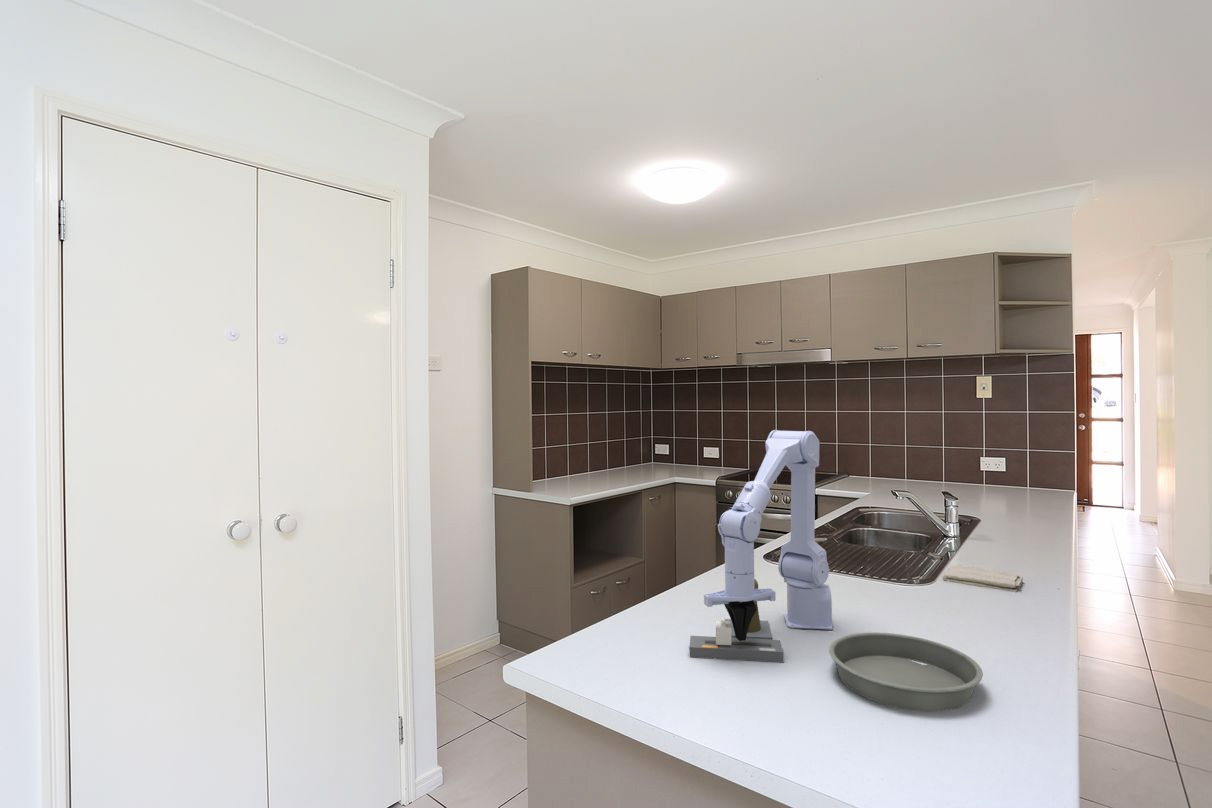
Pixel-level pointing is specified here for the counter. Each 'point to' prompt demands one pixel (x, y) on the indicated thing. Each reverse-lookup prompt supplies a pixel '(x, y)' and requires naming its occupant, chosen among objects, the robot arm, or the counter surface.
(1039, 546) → the counter surface
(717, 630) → the switch tab
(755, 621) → the cork
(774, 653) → the switch bar
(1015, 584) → the washcloth
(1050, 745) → the counter surface
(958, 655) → the cake pan
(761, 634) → the slate mat
